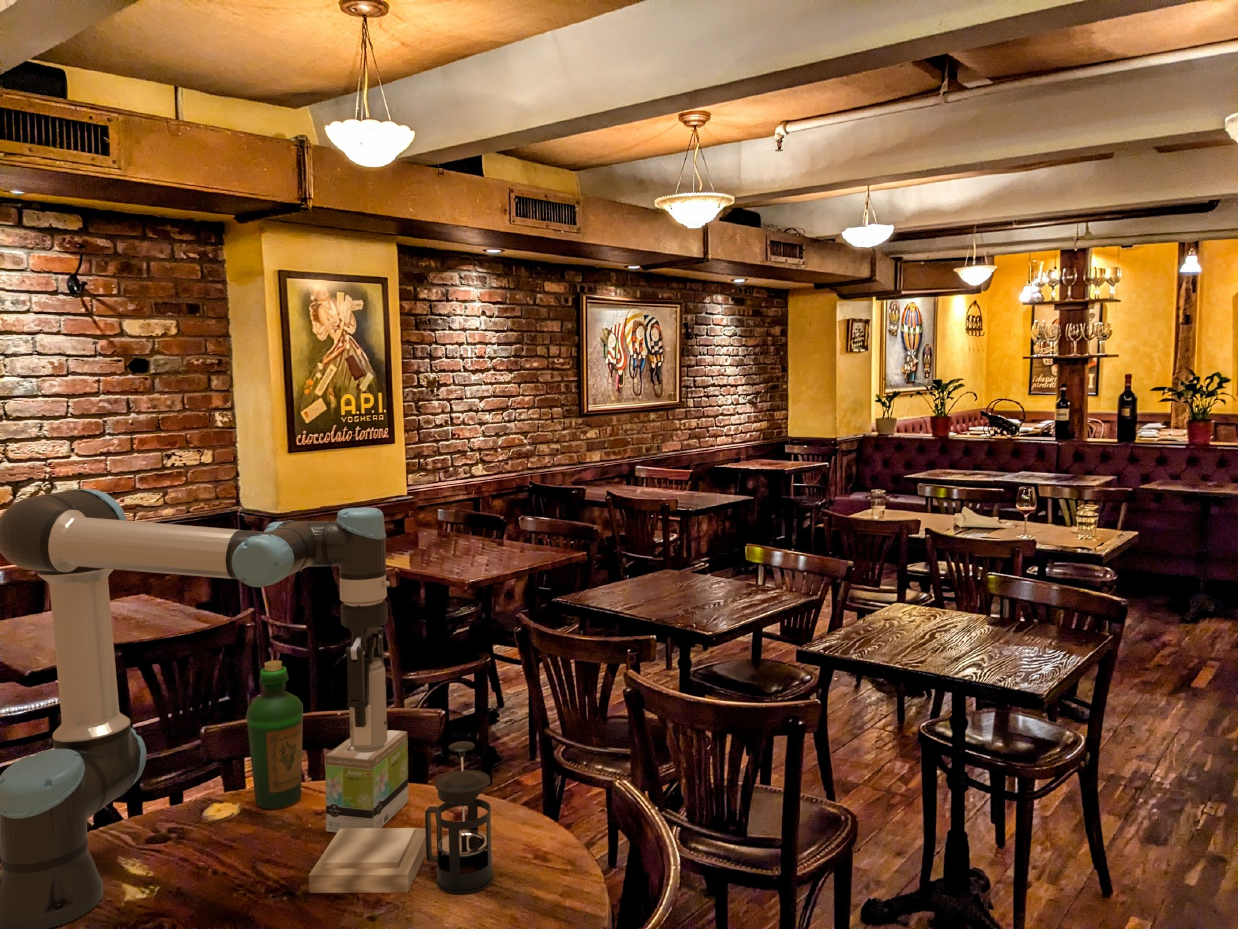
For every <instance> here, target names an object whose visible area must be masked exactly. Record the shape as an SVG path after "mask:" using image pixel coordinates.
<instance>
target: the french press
mask: <svg viewBox="0 0 1238 929" xmlns="http://www.w3.org/2000/svg"><path fill="white" fill-rule="evenodd" d="M474 748H475V743H473V742H471V741H464V740H463V741H455V742H454V743H451V744H449V745H448V749H449V750H450V751H451V752H454V753H458V756H459V758H460V768H461V770H454V771H450V772H447V773H445V774H443V775H440V776H439V777H438V778H436V780H435V782H434V787H435V789H436V790H437V798H438V799H439V800H440V801H441V802H443V803H442V804H440V805H439V806H434V805H432V806H431V805H429V806H428V807H427V809H426V810H425V813H424V818H425V819H424V822H425V825H424V826H425V827H424V828H425V829H426V854H425V857H426V858H425V859H426V862H427V863H436V874H437V875H436V879H435V883H436V887H437V888H438V889H439V890H440V891H441V892H443V893H446V894H449V895H453V896H454V895H458V896H459V895H460V896H461V895H465V896H466V895H470V894H475V893H478V892H480V891H481V892H482V891H483V890H485V889H487V888H488V887H490V885H491V884H492V883H493V881H494V877H495V876H494V875H495V874H494V871H493V856H492V810H491V809H492V808H491V804H490V803H489V802H487V801H486V800H483V799H480V798H478V797H479V795H480V794H481V793H482V791H483V790H484V789H485V788H487V787H488V786H489V784H490V783H491V777H490V776H489V775H488V774H487V773H485V772H484V771H480V770H476V769H464V757H465V755H466V752H469V751H472V750H473V749H474ZM458 807H461V809H462V811H461V812H462V813H461V815H462V818H461V819H462V821H452V820H447V819H443V818H442V813H444V812H446V811H448V810H451V809H453V808H458ZM465 807H467V820H466V821H465V814H466V813H465ZM478 808H480V809H481V808H482V809H484V810H486V811H487V812H486V813H485V814H484V815H482V816H480V817H479V811H478V810H479V809H478ZM432 814H435V823H436V852H437V854H436V855H434V854H433V849H432V848H433V847H432ZM485 824H486V833H484V832H482V831H479V827H480V826H481V827H482V826H483V825H485ZM443 828H444V829H447V830H448V834H447V835H445V836H443V832H442V831H443V830H442V829H443ZM463 868H464V869H465V868H473V869H477V870H475V871H473V872H468V873H461V869H463Z"/></svg>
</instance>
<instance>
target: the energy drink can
mask: <svg viewBox="0 0 1238 929" xmlns="http://www.w3.org/2000/svg"><path fill="white" fill-rule="evenodd" d="M364 659H368V658H364ZM386 680H387V679H386V667H385V664H384V665H383V664H382V662H381V658H380V657H374V658H373V663H372V664H370V669H369V696H368V705H370V709H371V739H372V743H371V745H354V731H353V707H348V710H349V712H348V714H349V738H350V744H351V746H353V747H354V750H355V751H357V752H361V753H369V752H375V751H378V750H380V749H382V748H383V747H384V744H385V743H386V742H387V730H388V717H387V715H388V714H387V684H386V682H387V681H386Z"/></svg>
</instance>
